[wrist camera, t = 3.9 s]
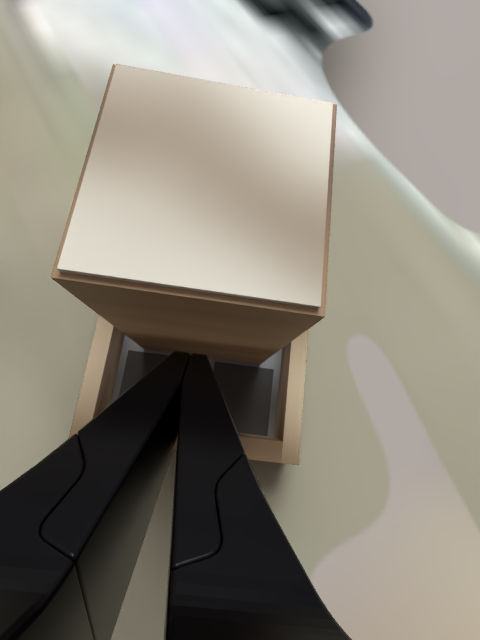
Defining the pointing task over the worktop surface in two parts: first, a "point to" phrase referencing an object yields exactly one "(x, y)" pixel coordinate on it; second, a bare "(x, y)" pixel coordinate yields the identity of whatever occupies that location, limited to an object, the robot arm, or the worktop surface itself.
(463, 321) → the worktop surface
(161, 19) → the worktop surface
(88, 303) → the beige rectangular box
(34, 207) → the worktop surface
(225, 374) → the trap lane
